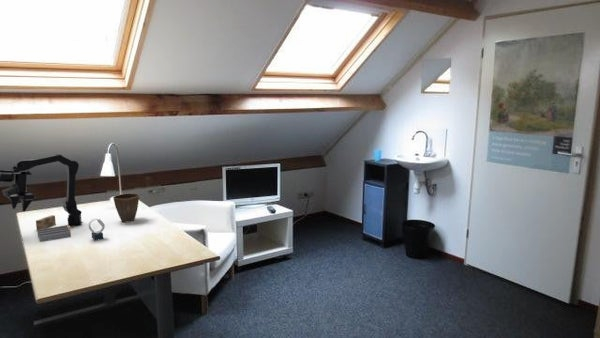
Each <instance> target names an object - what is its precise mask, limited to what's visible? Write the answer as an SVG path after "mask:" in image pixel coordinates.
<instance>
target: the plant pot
mask: <svg viewBox="0 0 600 338" xmlns="http://www.w3.org/2000/svg"><path fill="white" fill-rule="evenodd" d="M139 199H140V194H137V193H122V194H117V195H114V196H113V201H114V202H113V203H114V206H115V209H116V211H117V215H118V217H119V219H120V220H121V223H130V222H131V221H132V222H134V221H135V219H136V216H137V212H138V207H139V203H140V202H139V201H140V200H139Z"/></svg>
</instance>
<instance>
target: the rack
mask: <svg viewBox="0 0 600 338" xmlns="http://www.w3.org/2000/svg"><path fill="white" fill-rule="evenodd" d="M71 231H72V230H71V226H68V224H67V225H60V226H51V227H49V228H45V229H39V230H37V235H38V238H39V242H46V241H53V240H58V239H64V238H70V237H72V233H71Z"/></svg>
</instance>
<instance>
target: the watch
mask: <svg viewBox="0 0 600 338" xmlns="http://www.w3.org/2000/svg"><path fill="white" fill-rule="evenodd" d="M94 221H97V223H98V224H99V225H100V226H101V228H100V230H98V231H94V230H93V228H92V226H91V224H92V223H93V222H94ZM87 225H88V229H89V230H90V232H91V239H92V238H93V239H92V240H94V241H98V239H99V240H103V239H104V233H103V231H104V229H105V228H106V225H105V223H104V222H103V221H102V219H101V218H92V219H91V220H90V221H89V222H88V224H87Z"/></svg>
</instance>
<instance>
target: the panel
mask: <svg viewBox="0 0 600 338" xmlns="http://www.w3.org/2000/svg"><path fill="white" fill-rule="evenodd" d="M56 225H57V224H56V216H55V214H54V215H47V216H46V217H45V216H44V217H42V218H40V219H36V220H35V226H36V231H38V230H39V229H45V228H52V227H55V226H56Z"/></svg>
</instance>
